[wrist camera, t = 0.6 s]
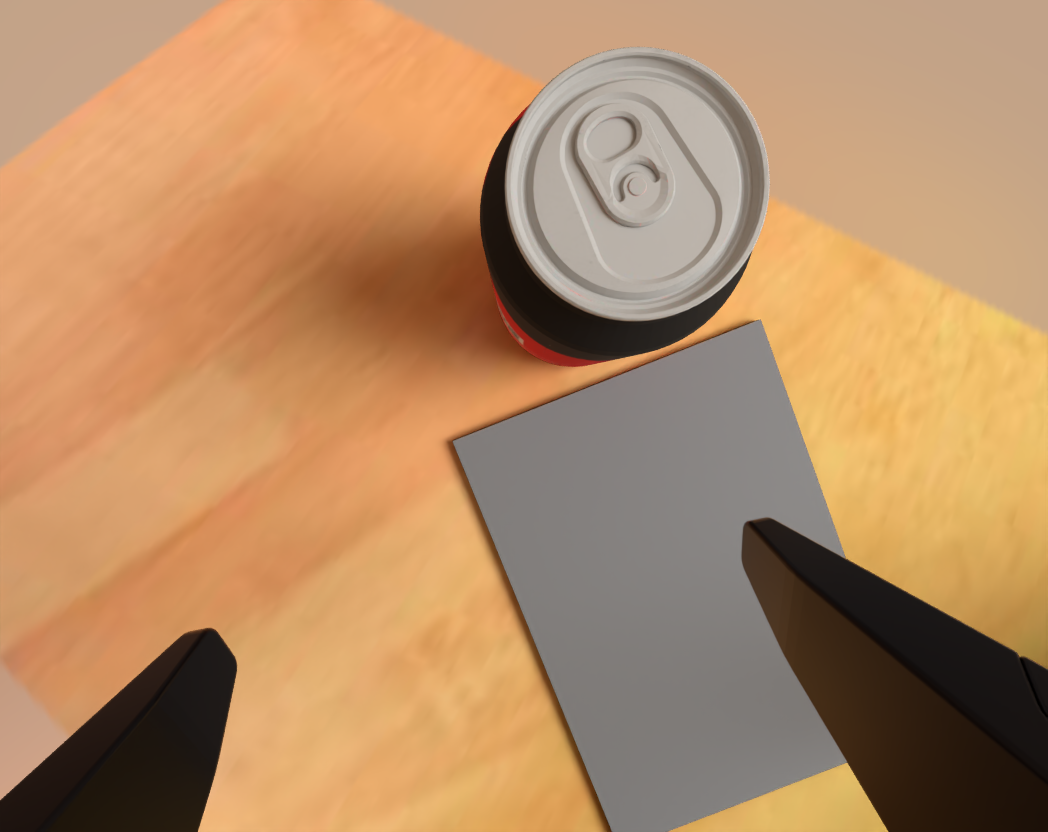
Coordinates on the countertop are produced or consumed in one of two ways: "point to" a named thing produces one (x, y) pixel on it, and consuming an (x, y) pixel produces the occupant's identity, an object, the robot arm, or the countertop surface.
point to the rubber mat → (661, 575)
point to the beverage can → (622, 206)
